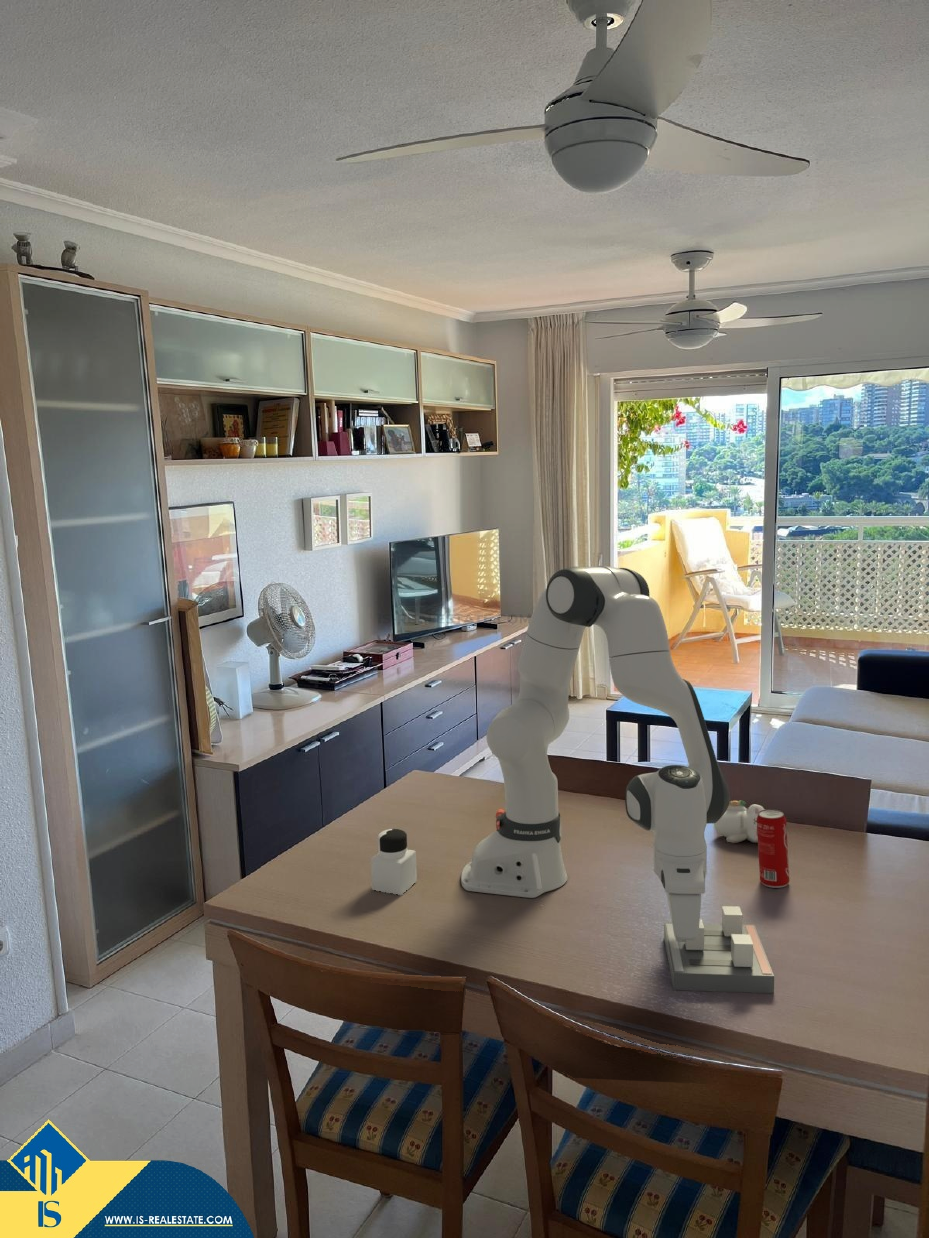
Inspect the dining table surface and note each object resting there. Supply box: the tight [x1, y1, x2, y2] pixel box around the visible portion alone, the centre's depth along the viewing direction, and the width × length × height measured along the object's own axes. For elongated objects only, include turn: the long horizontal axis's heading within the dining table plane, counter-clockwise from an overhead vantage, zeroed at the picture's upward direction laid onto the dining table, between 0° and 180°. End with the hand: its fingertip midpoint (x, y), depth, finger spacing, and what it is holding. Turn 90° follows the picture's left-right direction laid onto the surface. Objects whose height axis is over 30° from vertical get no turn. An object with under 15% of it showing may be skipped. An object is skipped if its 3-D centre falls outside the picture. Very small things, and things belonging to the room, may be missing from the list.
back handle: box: [721, 905, 743, 936], centre depth 161 cm, size 3×3×4 cm
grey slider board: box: [663, 922, 775, 994], centre depth 157 cm, size 16×17×3 cm
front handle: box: [731, 934, 753, 967], centre depth 151 cm, size 3×3×4 cm
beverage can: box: [757, 808, 790, 889], centre depth 186 cm, size 6×6×15 cm
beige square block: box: [685, 918, 704, 950], centre depth 157 cm, size 3×3×4 cm
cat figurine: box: [713, 800, 766, 844], centre depth 209 cm, size 10×8×15 cm
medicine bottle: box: [370, 828, 418, 896], centre depth 191 cm, size 7×7×12 cm
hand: (680, 938), depth 157 cm, fingers closed
